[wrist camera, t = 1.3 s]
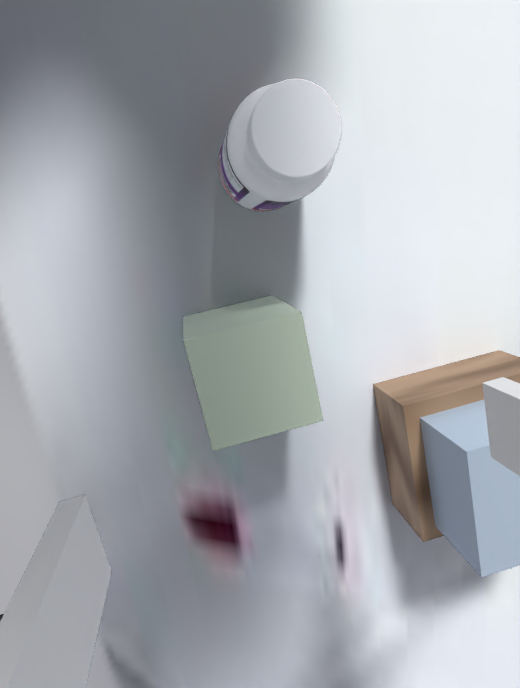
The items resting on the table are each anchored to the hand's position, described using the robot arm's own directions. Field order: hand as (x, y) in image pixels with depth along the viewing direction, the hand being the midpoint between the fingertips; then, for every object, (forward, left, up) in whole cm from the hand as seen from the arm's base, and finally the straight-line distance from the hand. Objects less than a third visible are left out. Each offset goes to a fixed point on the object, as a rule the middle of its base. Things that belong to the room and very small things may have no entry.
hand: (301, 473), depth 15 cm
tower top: (+10, +14, -12) cm, 21 cm away
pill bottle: (-11, +4, -17) cm, 21 cm away
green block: (0, 0, -17) cm, 17 cm away
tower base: (+10, +14, -17) cm, 24 cm away
